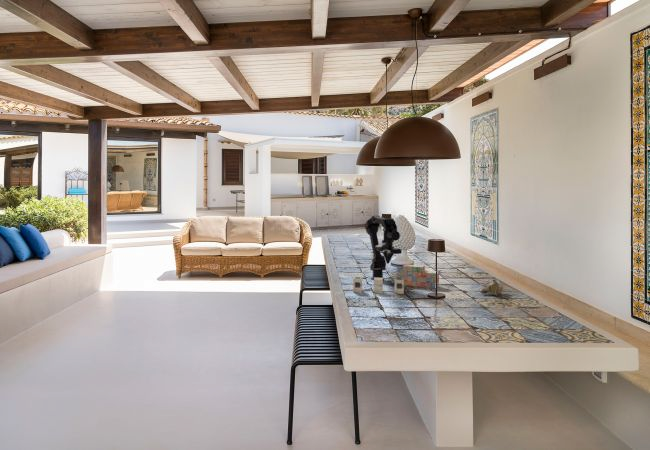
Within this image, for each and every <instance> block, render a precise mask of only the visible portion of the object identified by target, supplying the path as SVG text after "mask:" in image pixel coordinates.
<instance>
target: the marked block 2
mask: <svg viewBox="0 0 650 450" xmlns="http://www.w3.org/2000/svg"><path fill="white" fill-rule="evenodd" d="M404 291H405V285H404V279H403V277H401V278H400V277H394V294H395V295H396V294H398V295H402V294H404V293H405V292H404Z"/></svg>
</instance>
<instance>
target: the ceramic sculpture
mask: <svg viewBox="0 0 650 450" xmlns="http://www.w3.org/2000/svg"><path fill="white" fill-rule="evenodd" d="M503 290H504V287H503V284H502V282H501V281H500V280H499V279H498V280H495V279H492V280H491V281H490V282H489V283H487V285H486V287H483V288H482V289H481V291H480V293H481V294H483V295H485V294H488V295H491V296H497V297H498V296H500V295H501V293H502V292H503Z"/></svg>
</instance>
